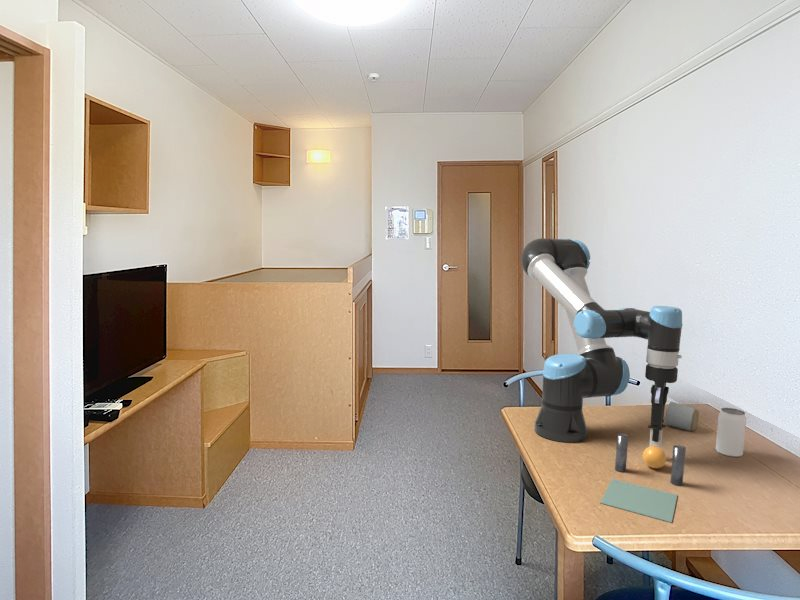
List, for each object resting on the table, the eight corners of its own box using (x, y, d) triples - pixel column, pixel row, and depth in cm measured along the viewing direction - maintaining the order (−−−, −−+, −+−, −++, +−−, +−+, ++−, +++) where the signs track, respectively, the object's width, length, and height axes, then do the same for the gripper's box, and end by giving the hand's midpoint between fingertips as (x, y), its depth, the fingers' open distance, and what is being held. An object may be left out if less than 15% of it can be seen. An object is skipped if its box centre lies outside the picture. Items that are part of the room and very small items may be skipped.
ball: (643, 444, 136) (641, 465, 135) (643, 444, 132) (642, 466, 130) (666, 448, 134) (665, 470, 133) (667, 448, 129) (666, 470, 128)
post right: (669, 483, 124) (673, 447, 123) (670, 479, 126) (674, 444, 125) (682, 486, 122) (685, 450, 121) (682, 482, 124) (686, 446, 123)
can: (747, 458, 140) (751, 415, 138) (720, 456, 141) (724, 413, 140) (736, 449, 146) (740, 408, 145) (711, 447, 147) (715, 406, 146)
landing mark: (600, 503, 113) (600, 502, 113) (612, 479, 125) (612, 478, 125) (671, 523, 106) (671, 522, 106) (677, 495, 118) (677, 494, 118)
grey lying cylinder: (693, 434, 157) (695, 410, 156) (663, 427, 162) (666, 403, 162) (700, 426, 165) (702, 403, 164) (672, 420, 170) (674, 397, 170)
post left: (613, 470, 130) (616, 436, 129) (615, 466, 132) (618, 432, 131) (624, 473, 129) (627, 438, 128) (626, 469, 131) (629, 435, 130)
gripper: (676, 372, 128) (668, 463, 131) (679, 362, 139) (672, 447, 142) (642, 367, 132) (635, 456, 135) (649, 358, 143) (642, 440, 146)
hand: (654, 451), depth 138 cm, fingers closed
